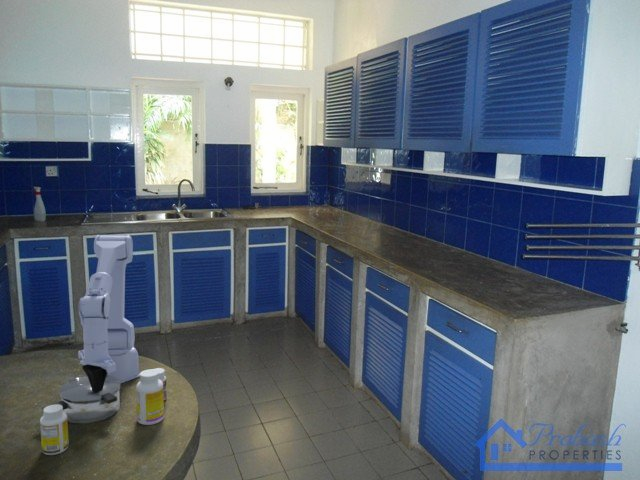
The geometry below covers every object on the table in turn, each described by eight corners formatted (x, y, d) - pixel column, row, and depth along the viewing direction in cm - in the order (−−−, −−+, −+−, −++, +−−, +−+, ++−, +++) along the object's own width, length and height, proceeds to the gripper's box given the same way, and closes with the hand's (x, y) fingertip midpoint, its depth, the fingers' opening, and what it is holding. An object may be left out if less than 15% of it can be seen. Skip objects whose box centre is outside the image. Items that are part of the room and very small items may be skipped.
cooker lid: (100, 373, 146) (100, 369, 145) (138, 392, 135) (138, 388, 135) (48, 390, 134) (48, 386, 134) (84, 413, 123) (84, 408, 123)
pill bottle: (161, 404, 141) (160, 375, 139) (145, 401, 142) (145, 373, 140) (169, 396, 145) (169, 368, 144) (154, 394, 146) (153, 366, 145)
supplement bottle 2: (169, 416, 134) (168, 370, 132) (153, 428, 128) (152, 380, 126) (147, 411, 136) (146, 365, 134) (131, 423, 130) (129, 375, 128)
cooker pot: (101, 392, 146) (101, 374, 145) (130, 408, 138) (129, 389, 137) (32, 418, 131) (31, 398, 130) (59, 437, 123) (58, 416, 122)
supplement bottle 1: (62, 440, 122) (60, 400, 120) (73, 449, 118) (71, 408, 116) (37, 449, 117) (35, 408, 116) (48, 459, 114) (45, 416, 112)
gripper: (65, 338, 132) (68, 387, 134) (96, 352, 123) (98, 405, 126) (91, 331, 138) (93, 378, 140) (122, 344, 129) (124, 394, 131)
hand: (97, 390), depth 133 cm, fingers closed, pressing on cooker lid
